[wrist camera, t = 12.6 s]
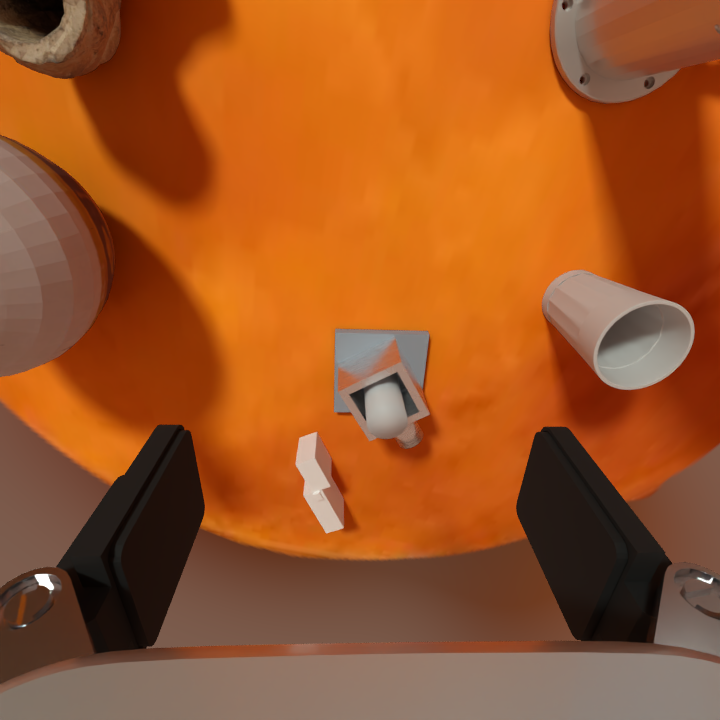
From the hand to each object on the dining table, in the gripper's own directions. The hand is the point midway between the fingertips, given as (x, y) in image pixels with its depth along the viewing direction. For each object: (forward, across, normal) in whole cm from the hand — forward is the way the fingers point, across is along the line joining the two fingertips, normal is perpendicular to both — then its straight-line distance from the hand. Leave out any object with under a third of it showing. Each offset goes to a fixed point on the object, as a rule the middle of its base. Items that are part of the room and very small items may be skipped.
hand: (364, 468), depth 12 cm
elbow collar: (+32, -4, +16) cm, 36 cm away
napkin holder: (+34, +3, +29) cm, 44 cm away
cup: (+33, -24, +6) cm, 41 cm away
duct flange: (+33, -3, +15) cm, 36 cm away
